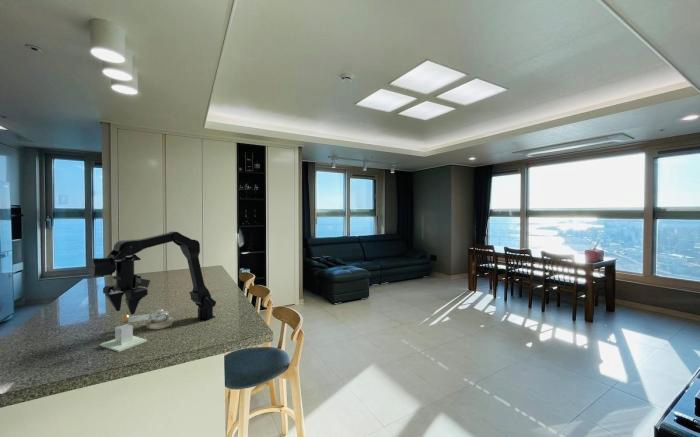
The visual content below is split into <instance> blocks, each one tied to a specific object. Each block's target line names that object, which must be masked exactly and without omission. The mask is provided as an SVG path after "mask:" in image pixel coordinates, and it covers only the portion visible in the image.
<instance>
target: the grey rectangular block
mask: <svg viewBox="0 0 700 437" xmlns="http://www.w3.org/2000/svg"><path fill="white" fill-rule="evenodd" d="M114 331H115V332H114V339H115V343H117V344H120V345H123V344H125V343H128V342H131V341H133V336H134V333H133V332H134V327H133V325H132V324H129V323H124V324H121V325H119V326H115V328H114Z"/></svg>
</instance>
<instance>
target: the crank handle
mask: <svg viewBox="0 0 700 437" xmlns="http://www.w3.org/2000/svg"><path fill="white" fill-rule="evenodd" d="M121 316H122V317H121V323H122V324H129V323H133V322H134V323H135V322H143V321H149V320H151V322H153V323H158V322H164V321H166V320H168V319H169V317H170V311H169V310H164V309H163V308H160V309H159V308H158V309H156V311H155V312H151V314H150V313H147V314H139V315H132V316H130V313H128V314H127V313H126V314H122V315H121Z"/></svg>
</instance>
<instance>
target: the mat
mask: <svg viewBox="0 0 700 437" xmlns="http://www.w3.org/2000/svg"><path fill="white" fill-rule="evenodd" d="M146 342H148V339H146V338H143V337H139V336H135V335H133V341H131V342H128V343H125V344H123V345H120V344H117V343H115V338H114V339H110V340H108V341H105V342H102V343H100V344H99V346H100V347H103V348H105V349H109V350H111V351H114V352H117V353H118V352H120V353H121V352H122V351H125V350H128V349H131V348H132V347H136V346H139V345H141V344H142V343H146Z"/></svg>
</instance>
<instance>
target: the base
mask: <svg viewBox="0 0 700 437" xmlns="http://www.w3.org/2000/svg"><path fill="white" fill-rule="evenodd" d="M173 322H174V318H173V317H171V316H169V319H168V320H166V321H164V322H158V323H153V322H151V319H149V320H147V321H146V329H148V330H161V329H164V328H168V327H170V326H172V325H174V324H173Z"/></svg>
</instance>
